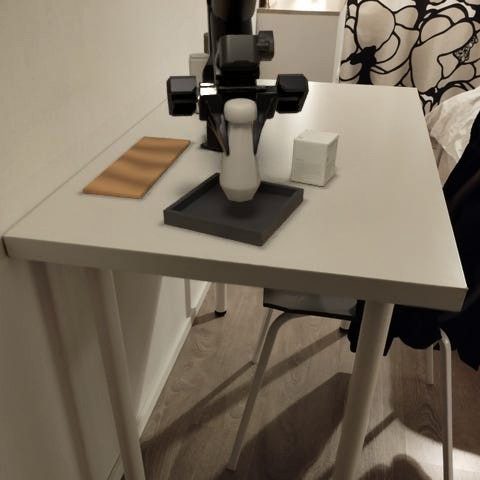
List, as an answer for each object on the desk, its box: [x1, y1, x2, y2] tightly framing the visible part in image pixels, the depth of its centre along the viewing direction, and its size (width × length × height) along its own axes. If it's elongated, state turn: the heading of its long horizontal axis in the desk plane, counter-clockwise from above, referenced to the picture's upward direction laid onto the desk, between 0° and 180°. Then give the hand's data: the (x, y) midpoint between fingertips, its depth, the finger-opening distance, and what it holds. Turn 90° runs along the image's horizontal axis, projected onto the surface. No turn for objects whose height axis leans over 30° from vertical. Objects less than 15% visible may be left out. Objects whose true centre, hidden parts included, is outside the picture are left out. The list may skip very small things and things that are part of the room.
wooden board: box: [82, 135, 191, 199], centre depth 95 cm, size 28×10×1 cm, turn 168°
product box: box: [290, 129, 340, 187], centre depth 88 cm, size 6×6×7 cm
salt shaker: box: [219, 98, 261, 202], centre depth 70 cm, size 6×6×13 cm
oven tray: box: [162, 171, 305, 247], centre depth 79 cm, size 17×16×2 cm
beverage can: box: [188, 52, 209, 114], centre depth 119 cm, size 5×5×12 cm
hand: (241, 154), depth 69 cm, fingers closed on salt shaker, 3 cm apart
